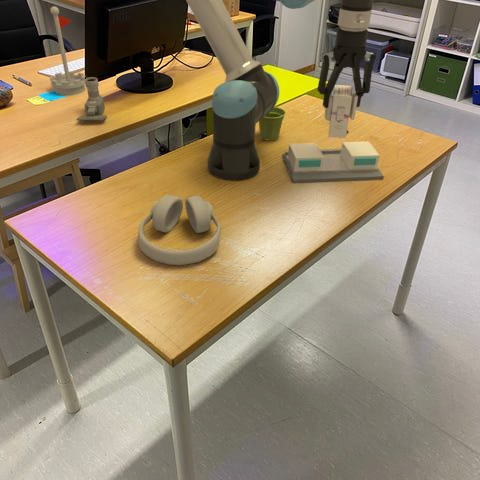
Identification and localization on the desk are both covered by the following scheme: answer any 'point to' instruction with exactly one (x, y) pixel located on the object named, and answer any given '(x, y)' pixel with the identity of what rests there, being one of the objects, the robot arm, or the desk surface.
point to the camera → (93, 101)
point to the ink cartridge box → (340, 111)
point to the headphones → (165, 220)
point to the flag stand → (65, 64)
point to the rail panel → (332, 162)
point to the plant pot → (271, 124)
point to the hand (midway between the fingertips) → (339, 118)
